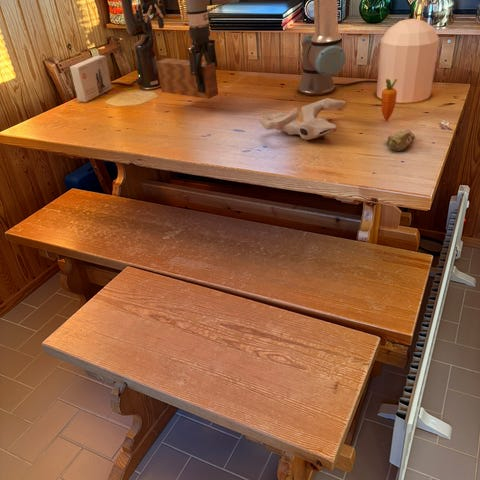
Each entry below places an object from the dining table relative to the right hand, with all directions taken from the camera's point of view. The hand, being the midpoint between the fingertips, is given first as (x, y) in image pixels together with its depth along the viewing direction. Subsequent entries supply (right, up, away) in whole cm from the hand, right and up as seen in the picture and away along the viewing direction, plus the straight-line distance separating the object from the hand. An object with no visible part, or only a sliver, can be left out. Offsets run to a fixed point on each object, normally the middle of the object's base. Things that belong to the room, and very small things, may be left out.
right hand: (206, 89), depth 180 cm
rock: (+65, -29, -33) cm, 78 cm away
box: (-8, +1, +6) cm, 10 cm away
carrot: (+66, -16, -14) cm, 69 cm away
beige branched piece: (+37, -23, -21) cm, 48 cm away
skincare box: (-56, +11, +42) cm, 71 cm away
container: (+79, 0, +7) cm, 79 cm away
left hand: (-22, +27, +9) cm, 36 cm away
